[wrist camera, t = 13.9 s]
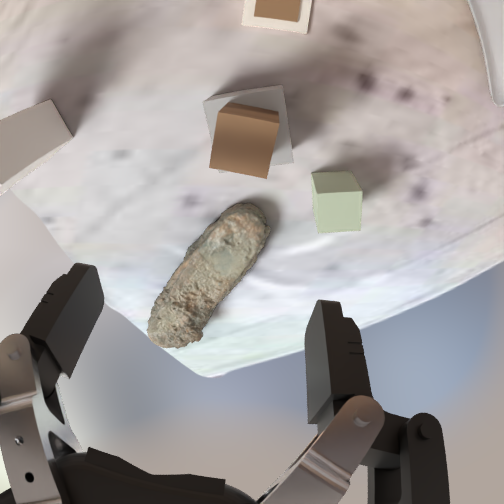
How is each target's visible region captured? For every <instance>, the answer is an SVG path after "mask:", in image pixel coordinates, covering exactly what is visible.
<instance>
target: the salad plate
mask: <svg viewBox="0 0 504 504" xmlns="http://www.w3.org/2000/svg"><path fill="white" fill-rule="evenodd" d="M467 3H468V5H469V8H470V11H471V13H472V16H473V19H474V22H475V25H476V29H477V32H478V35H479V39H480V43H481V47H482V51H483V56H484V61H485V66H486V72H487V78H488V85H489V91H490V96H491V99H492V102H493V103H494V105H495V106H497V107H504V0H467Z"/></svg>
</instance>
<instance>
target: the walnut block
mask: <svg viewBox="0 0 504 504" xmlns="http://www.w3.org/2000/svg"><path fill="white" fill-rule="evenodd" d="M279 124H280V123H279V112H278V111H273V110H269V109H264V108H259V107H254V106H248V105H243V104H237V103H231V102H228V103H227V104H226V105H225V106H224V107H223V108H222V109H221V110H220V111H218V114H217V120H216V127H215V133H214V139H213V145H212V152H211V159H210V166H209V168H213V169H219V170H225V171H230V172H235V173H240V174H245V175H251V176H255V177H260V178H265V179H267V175H268V171H269V166H270V162H271V158H272V154H273V149H274V145H275V141H276V137H277V133H278V128H279Z"/></svg>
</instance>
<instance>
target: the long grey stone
mask: <svg viewBox="0 0 504 504" xmlns="http://www.w3.org/2000/svg"><path fill="white" fill-rule="evenodd" d="M265 224H266V218H265V216H264V214H263V213H262V211H261V210H260V209H259V208H257V207H256V206H254V205H252V204H250V203H246V204H243V203H240V204H236V205H234V206H233V207H232V208H229V209H227V210H226V211H224V212H223V213H221V217H220V219H219V220H218V221H216V222H215V223H213V224H210V225H209V226H208V227H207V229H206V230H205V232H204V233H203V235H201V236H200V238H199V240H197V241H196V242H194V243H193V244H192V245H191V246H190V247H188V250H187V252H186V256H185V257H184V261H183V262H182V263H181V265H180V266H179V267H178V268H177V269H176V270H175V272H174V273H173V275H172V276H171V279H170V280H169V281H168V282H167V286H166V287H164V290H163V291H162V293H160V296H158V297H157V299H156V300H155V302H154V304H155V305H154V306H153V308H152V309H151V317H150V319H149V320H148V323H149V327H148V329H147V333H148V336H149V338H150V340H151V341H152V342H153V343H155V344H156V345H158V346H160V347H163V348H171V347H175V348H177V349H178V348H180V347H185V346H187V344H188V343H189V342H191V343H193V342H194V341H200V339H201V338H202V337H203V332H202V329H203V327H205V325H206V324H207V322H208V320H209V318H210V317H211V315H212V312H213V310H214V309H215V308H216V305H217V304H218V303H219V302H220V301H222V300H223V298H224V297H225V296H227V295H228V294H229V293H230V292H231V290H232V289H233V288H234V287H235V286H236V285H237V284H238V283H239V282H240V281H241V279H242V277H243V276H244V275H245V274H246V271H247V270H248V269H250V268H251V267H252V266H253V264H254V263H255V262H256V260H257V255H258V254H259V252H260V251H261V249H262V248H263V247H264V244H265V240H266V238H267V237H268V235H269V233H270V226H265Z"/></svg>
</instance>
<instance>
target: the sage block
mask: <svg viewBox="0 0 504 504" xmlns="http://www.w3.org/2000/svg"><path fill="white" fill-rule="evenodd" d="M311 180H312V201H313V212H314V216H315V221H316V225H317V230H318V233H330V232H345V231H360V230H361V214H362V193H363V191H362V189H361V188H360V186H359V184H358V182H357V181H356V179H355V177H354V176H353V174H352V172H351V171H335V172H317V173H311Z"/></svg>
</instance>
